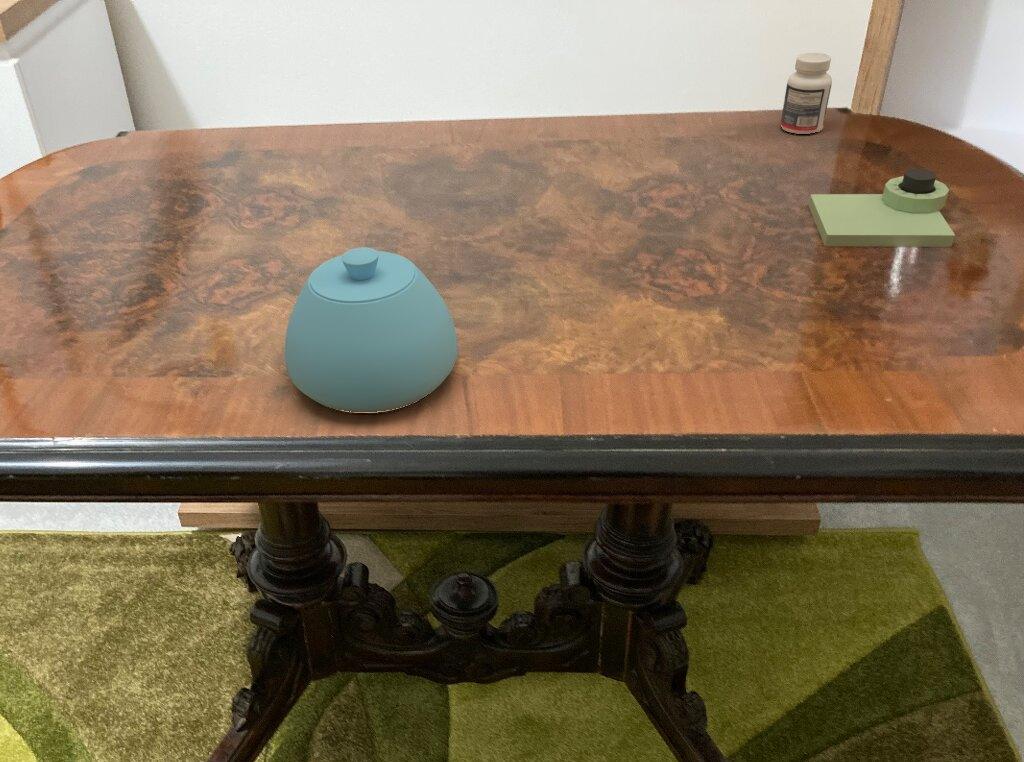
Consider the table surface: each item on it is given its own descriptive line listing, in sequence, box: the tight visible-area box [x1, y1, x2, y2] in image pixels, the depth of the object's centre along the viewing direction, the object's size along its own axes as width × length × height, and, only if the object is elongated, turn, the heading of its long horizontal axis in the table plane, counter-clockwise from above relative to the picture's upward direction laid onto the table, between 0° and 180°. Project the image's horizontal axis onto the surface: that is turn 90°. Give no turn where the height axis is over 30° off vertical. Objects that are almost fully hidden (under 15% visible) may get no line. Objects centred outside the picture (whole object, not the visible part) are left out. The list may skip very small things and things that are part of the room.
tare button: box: [901, 168, 937, 194], centre depth 96 cm, size 3×3×2 cm
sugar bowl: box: [284, 246, 459, 412], centre depth 78 cm, size 15×15×12 cm
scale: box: [807, 175, 956, 248], centre depth 96 cm, size 13×11×3 cm
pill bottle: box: [779, 52, 833, 135], centre depth 116 cm, size 5×5×9 cm
